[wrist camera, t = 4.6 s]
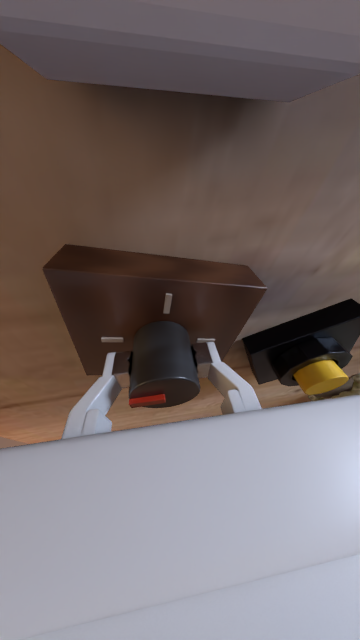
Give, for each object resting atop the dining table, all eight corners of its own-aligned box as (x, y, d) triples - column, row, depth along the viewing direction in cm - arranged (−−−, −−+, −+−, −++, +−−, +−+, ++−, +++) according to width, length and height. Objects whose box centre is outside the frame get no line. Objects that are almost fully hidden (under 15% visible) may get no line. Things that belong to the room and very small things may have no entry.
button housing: (351, 298, 16) (394, 327, 13) (332, 344, 22) (359, 371, 19) (241, 338, 19) (258, 370, 16) (251, 370, 25) (265, 398, 22)
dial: (188, 316, 11) (203, 378, 8) (189, 351, 14) (200, 407, 11) (126, 324, 11) (117, 391, 8) (140, 358, 13) (137, 417, 10)
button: (336, 352, 16) (354, 372, 15) (328, 369, 19) (343, 387, 17) (293, 366, 17) (306, 385, 15) (291, 380, 20) (303, 398, 18)
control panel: (247, 265, 12) (269, 289, 10) (208, 347, 19) (216, 372, 17) (64, 243, 10) (39, 269, 7) (94, 347, 16) (86, 377, 14)
